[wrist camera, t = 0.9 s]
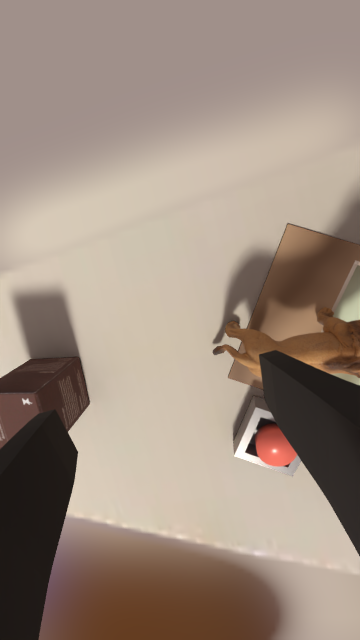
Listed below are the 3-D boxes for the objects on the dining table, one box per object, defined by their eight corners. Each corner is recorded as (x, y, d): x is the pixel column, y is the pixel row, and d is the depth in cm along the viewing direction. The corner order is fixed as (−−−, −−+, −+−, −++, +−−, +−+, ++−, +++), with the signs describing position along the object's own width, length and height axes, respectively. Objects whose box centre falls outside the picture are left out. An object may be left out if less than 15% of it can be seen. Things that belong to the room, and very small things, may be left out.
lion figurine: (374, 278, 22) (468, 300, 14) (384, 336, 23) (478, 390, 15) (205, 327, 26) (196, 369, 17) (221, 375, 27) (221, 438, 18)
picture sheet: (511, 289, 21) (511, 289, 21) (408, 437, 26) (409, 438, 26) (287, 224, 22) (288, 224, 22) (228, 377, 27) (228, 377, 27)
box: (30, 357, 30) (-28, 392, 23) (80, 355, 29) (35, 391, 22) (43, 405, 31) (-8, 451, 24) (91, 405, 30) (52, 453, 23)
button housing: (312, 415, 27) (319, 428, 25) (287, 460, 28) (292, 476, 26) (253, 395, 27) (255, 407, 25) (233, 441, 29) (234, 455, 27)
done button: (299, 430, 26) (304, 442, 24) (284, 459, 27) (288, 471, 25) (262, 418, 26) (265, 428, 24) (249, 447, 27) (251, 458, 25)
